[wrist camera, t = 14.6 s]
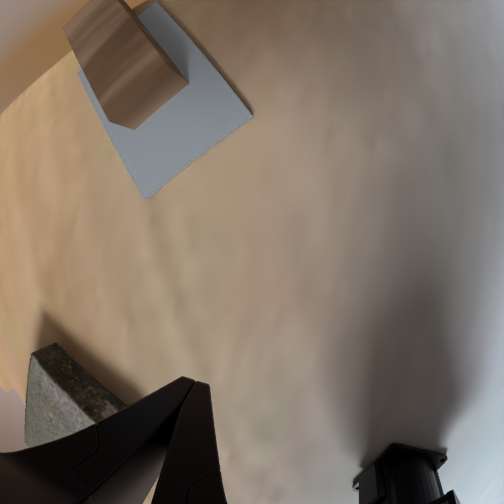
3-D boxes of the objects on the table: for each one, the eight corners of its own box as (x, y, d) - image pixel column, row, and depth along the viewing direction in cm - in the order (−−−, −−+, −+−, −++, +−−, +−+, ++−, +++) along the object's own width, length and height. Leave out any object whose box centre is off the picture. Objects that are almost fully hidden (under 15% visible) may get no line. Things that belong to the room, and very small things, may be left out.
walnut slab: (168, 67, 15) (105, -14, 15) (109, 121, 17) (62, 28, 17) (189, 83, 18) (124, 1, 18) (134, 130, 19) (83, 39, 19)
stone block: (162, 426, 24) (135, 459, 19) (116, 491, 29) (98, 513, 24) (57, 335, 26) (22, 352, 21) (42, 427, 30) (20, 443, 26)
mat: (253, 117, 18) (251, 114, 18) (148, 198, 21) (143, 198, 20) (159, 4, 18) (155, 1, 18) (81, 74, 21) (77, 72, 20)
